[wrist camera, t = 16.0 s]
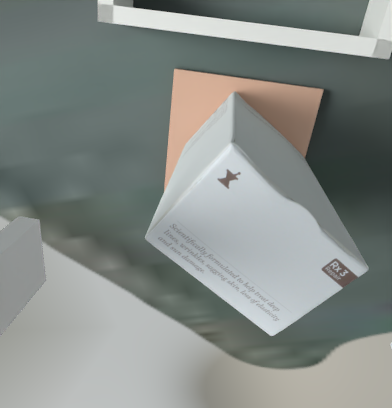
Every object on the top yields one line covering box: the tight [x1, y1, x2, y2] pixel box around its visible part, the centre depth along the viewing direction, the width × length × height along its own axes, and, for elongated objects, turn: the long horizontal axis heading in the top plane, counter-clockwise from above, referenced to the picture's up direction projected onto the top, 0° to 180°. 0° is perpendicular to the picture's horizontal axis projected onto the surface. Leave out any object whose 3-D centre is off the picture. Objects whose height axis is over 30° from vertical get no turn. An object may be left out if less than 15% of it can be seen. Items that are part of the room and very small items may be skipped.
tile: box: [164, 68, 323, 192], centre depth 28 cm, size 11×11×1 cm
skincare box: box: [145, 91, 369, 336], centre depth 21 cm, size 8×6×15 cm
